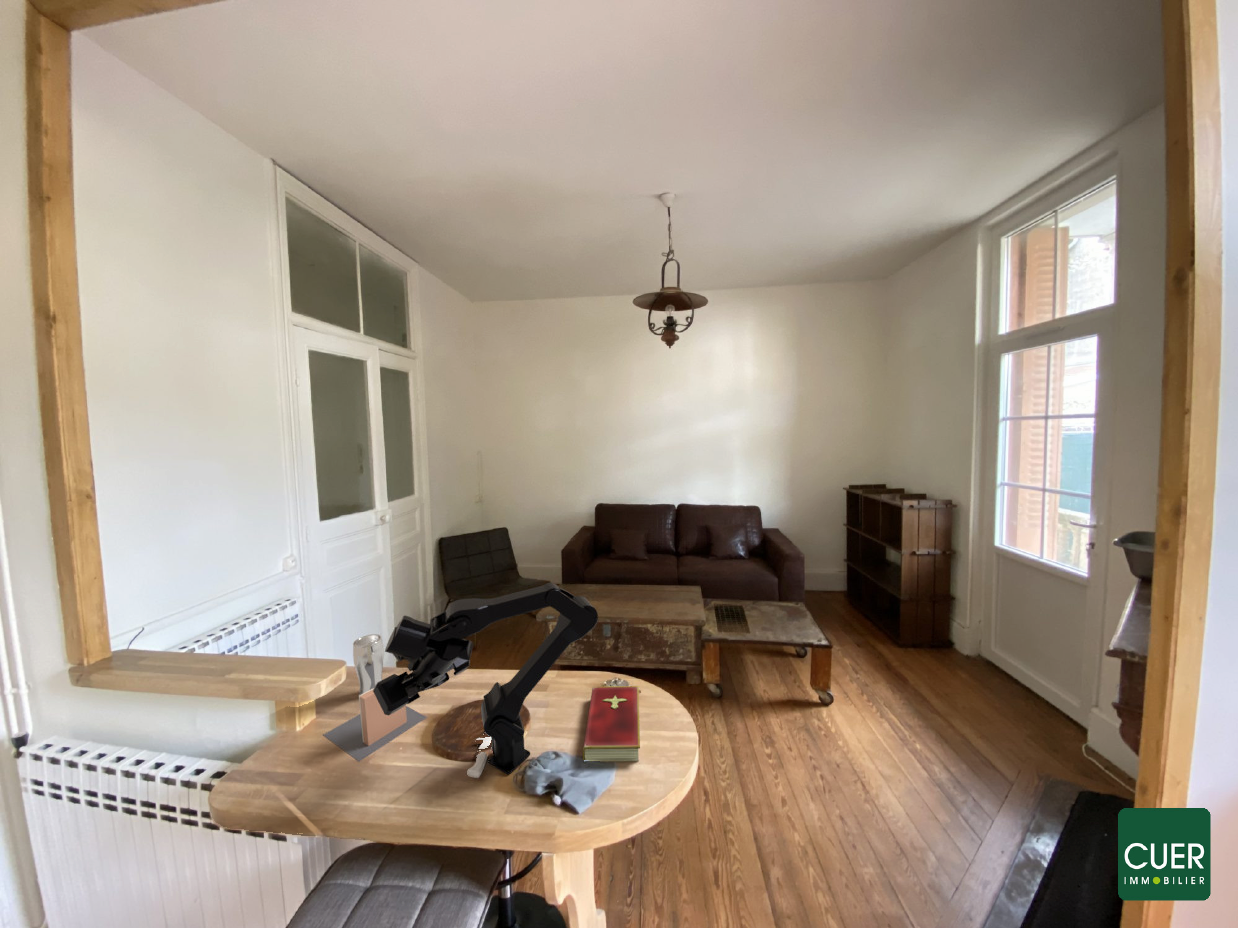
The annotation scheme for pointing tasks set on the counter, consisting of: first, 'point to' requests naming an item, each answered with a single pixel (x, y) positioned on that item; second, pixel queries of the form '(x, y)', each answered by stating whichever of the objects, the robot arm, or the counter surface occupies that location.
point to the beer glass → (368, 661)
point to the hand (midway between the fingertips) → (410, 693)
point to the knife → (480, 759)
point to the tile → (377, 718)
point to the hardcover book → (613, 724)
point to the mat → (352, 739)
